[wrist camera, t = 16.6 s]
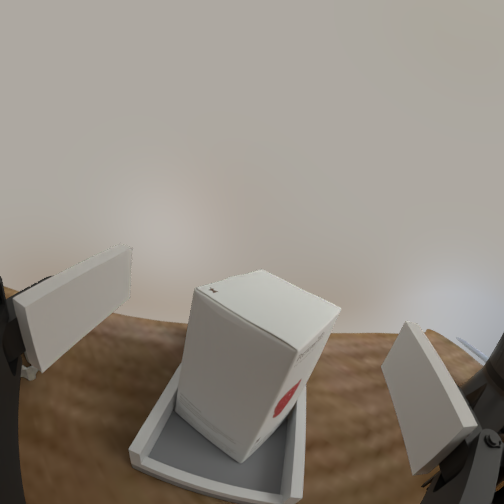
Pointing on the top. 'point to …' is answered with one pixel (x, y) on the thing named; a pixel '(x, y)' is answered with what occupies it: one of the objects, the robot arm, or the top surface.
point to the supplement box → (249, 357)
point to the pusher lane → (221, 456)
